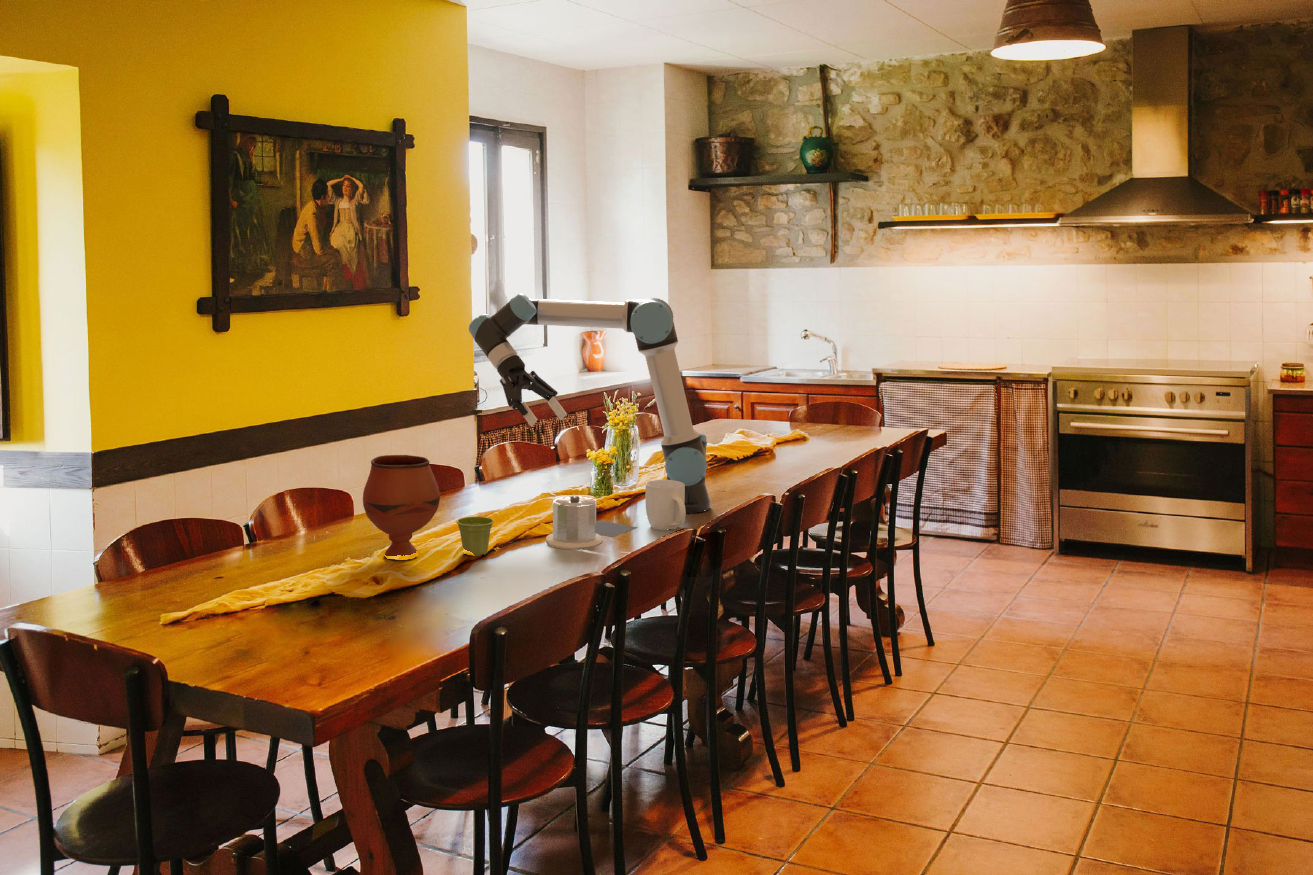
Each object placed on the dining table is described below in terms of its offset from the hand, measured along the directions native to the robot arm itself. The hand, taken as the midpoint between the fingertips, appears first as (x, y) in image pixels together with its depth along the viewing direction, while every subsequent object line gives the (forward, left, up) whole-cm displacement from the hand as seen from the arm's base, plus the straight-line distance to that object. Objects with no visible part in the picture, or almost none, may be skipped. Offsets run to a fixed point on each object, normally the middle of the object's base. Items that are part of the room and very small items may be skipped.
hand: (549, 420), depth 323 cm
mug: (-14, +31, -30) cm, 45 cm away
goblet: (+49, -9, -30) cm, 58 cm away
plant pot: (+36, +4, -30) cm, 47 cm away
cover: (+12, +18, -28) cm, 36 cm away
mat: (-3, +18, -30) cm, 35 cm away
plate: (+12, +18, -30) cm, 37 cm away
